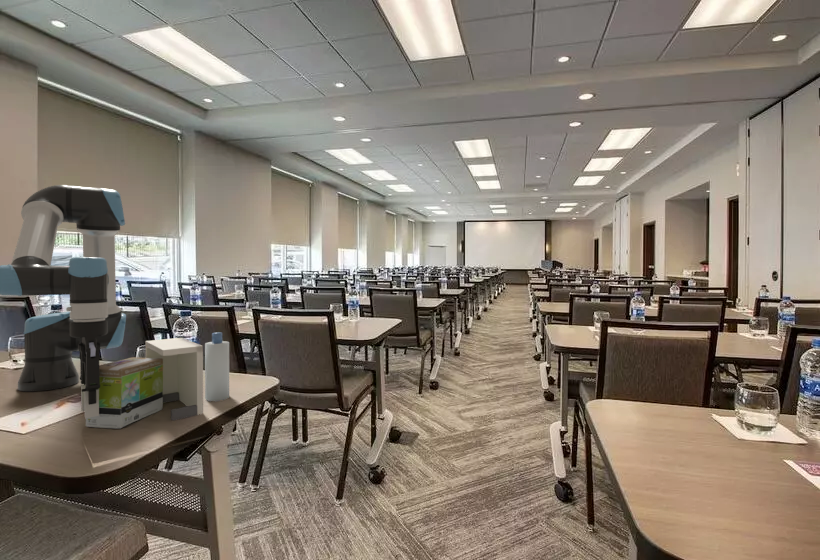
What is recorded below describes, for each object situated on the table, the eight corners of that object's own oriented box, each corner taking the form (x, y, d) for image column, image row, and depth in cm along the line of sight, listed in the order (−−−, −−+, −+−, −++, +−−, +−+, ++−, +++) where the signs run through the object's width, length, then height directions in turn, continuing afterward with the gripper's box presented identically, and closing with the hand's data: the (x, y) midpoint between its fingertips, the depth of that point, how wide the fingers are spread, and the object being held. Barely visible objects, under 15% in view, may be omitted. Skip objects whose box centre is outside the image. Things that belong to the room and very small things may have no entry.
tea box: (122, 429, 104) (121, 369, 103) (84, 427, 105) (83, 368, 104) (164, 409, 119) (163, 356, 118) (131, 408, 120) (130, 355, 119)
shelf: (146, 405, 122) (145, 341, 122) (182, 398, 129) (181, 337, 129) (163, 422, 109) (163, 350, 108) (203, 413, 115) (202, 345, 115)
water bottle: (202, 399, 128) (201, 332, 128) (224, 394, 133) (224, 330, 133) (209, 404, 124) (209, 335, 123) (232, 399, 128) (232, 333, 128)
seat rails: (154, 404, 123) (154, 395, 123) (177, 400, 127) (177, 391, 127) (172, 420, 110) (172, 410, 110) (197, 415, 114) (197, 405, 114)
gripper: (66, 317, 109) (67, 407, 110) (73, 324, 95) (74, 427, 96) (101, 315, 114) (102, 401, 115) (114, 322, 101) (115, 419, 101)
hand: (90, 413), depth 105 cm, fingers open, 6 cm apart
